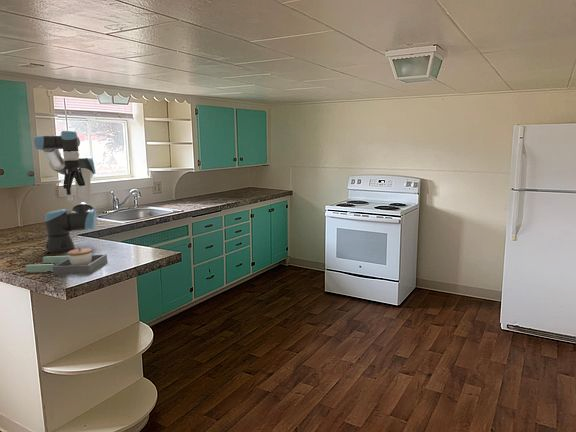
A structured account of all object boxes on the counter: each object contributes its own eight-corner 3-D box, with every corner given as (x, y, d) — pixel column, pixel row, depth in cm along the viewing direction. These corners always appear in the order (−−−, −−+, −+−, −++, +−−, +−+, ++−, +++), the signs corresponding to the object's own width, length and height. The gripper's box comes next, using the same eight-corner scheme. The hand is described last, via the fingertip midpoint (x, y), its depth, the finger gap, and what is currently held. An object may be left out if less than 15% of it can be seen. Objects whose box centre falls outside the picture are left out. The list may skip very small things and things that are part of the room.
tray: (53, 275, 208) (52, 266, 208) (74, 263, 229) (73, 255, 228) (90, 273, 208) (89, 265, 208) (107, 261, 229) (106, 254, 228)
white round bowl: (87, 262, 226) (85, 244, 224) (97, 265, 219) (95, 246, 217) (65, 266, 218) (63, 248, 217) (75, 270, 211) (72, 251, 210)
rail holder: (26, 272, 214) (25, 265, 214) (45, 263, 231) (44, 256, 230) (53, 271, 214) (52, 264, 214) (70, 262, 231) (69, 255, 230)
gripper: (67, 160, 227) (72, 201, 231) (88, 158, 252) (92, 196, 256) (53, 161, 227) (57, 202, 231) (75, 159, 252) (79, 196, 255)
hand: (76, 199), depth 243 cm, fingers open, 13 cm apart
